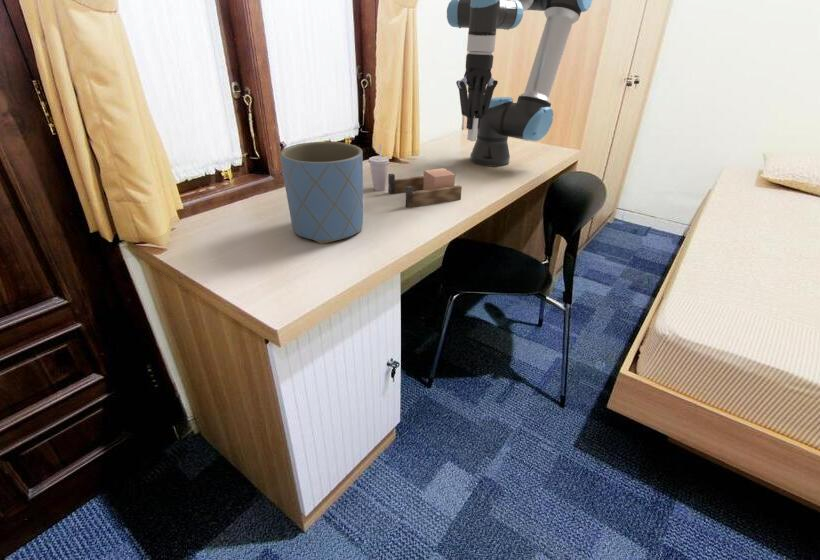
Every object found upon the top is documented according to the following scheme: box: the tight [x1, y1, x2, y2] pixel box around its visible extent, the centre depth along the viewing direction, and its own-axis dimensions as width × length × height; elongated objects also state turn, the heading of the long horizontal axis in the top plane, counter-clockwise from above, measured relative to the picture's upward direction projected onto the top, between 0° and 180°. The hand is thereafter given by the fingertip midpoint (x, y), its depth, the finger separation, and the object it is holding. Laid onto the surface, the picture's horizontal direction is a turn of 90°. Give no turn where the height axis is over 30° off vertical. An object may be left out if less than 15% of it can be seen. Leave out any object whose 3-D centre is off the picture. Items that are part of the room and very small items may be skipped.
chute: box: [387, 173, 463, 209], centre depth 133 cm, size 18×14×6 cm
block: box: [422, 167, 456, 191], centre depth 135 cm, size 7×7×7 cm
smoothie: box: [368, 144, 390, 192], centre depth 136 cm, size 6×6×14 cm
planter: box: [279, 141, 364, 245], centre depth 107 cm, size 19×19×20 cm
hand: (471, 140), depth 132 cm, fingers closed
